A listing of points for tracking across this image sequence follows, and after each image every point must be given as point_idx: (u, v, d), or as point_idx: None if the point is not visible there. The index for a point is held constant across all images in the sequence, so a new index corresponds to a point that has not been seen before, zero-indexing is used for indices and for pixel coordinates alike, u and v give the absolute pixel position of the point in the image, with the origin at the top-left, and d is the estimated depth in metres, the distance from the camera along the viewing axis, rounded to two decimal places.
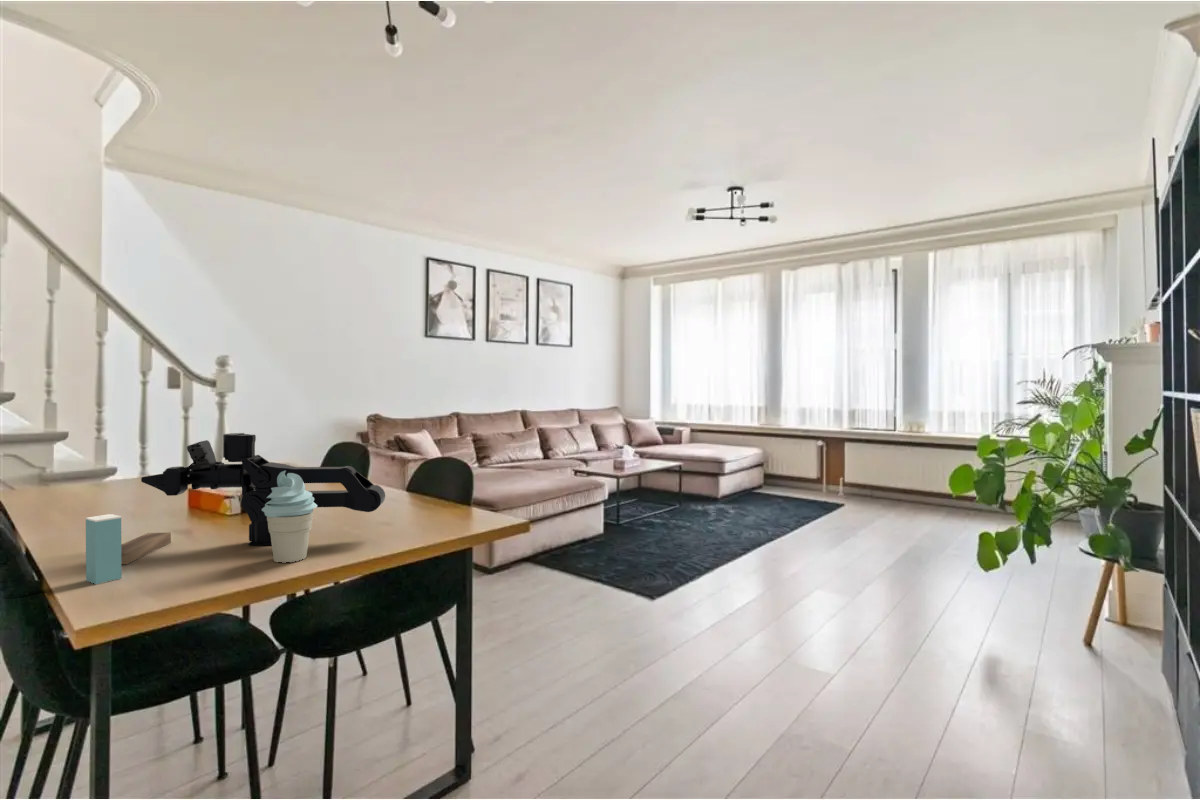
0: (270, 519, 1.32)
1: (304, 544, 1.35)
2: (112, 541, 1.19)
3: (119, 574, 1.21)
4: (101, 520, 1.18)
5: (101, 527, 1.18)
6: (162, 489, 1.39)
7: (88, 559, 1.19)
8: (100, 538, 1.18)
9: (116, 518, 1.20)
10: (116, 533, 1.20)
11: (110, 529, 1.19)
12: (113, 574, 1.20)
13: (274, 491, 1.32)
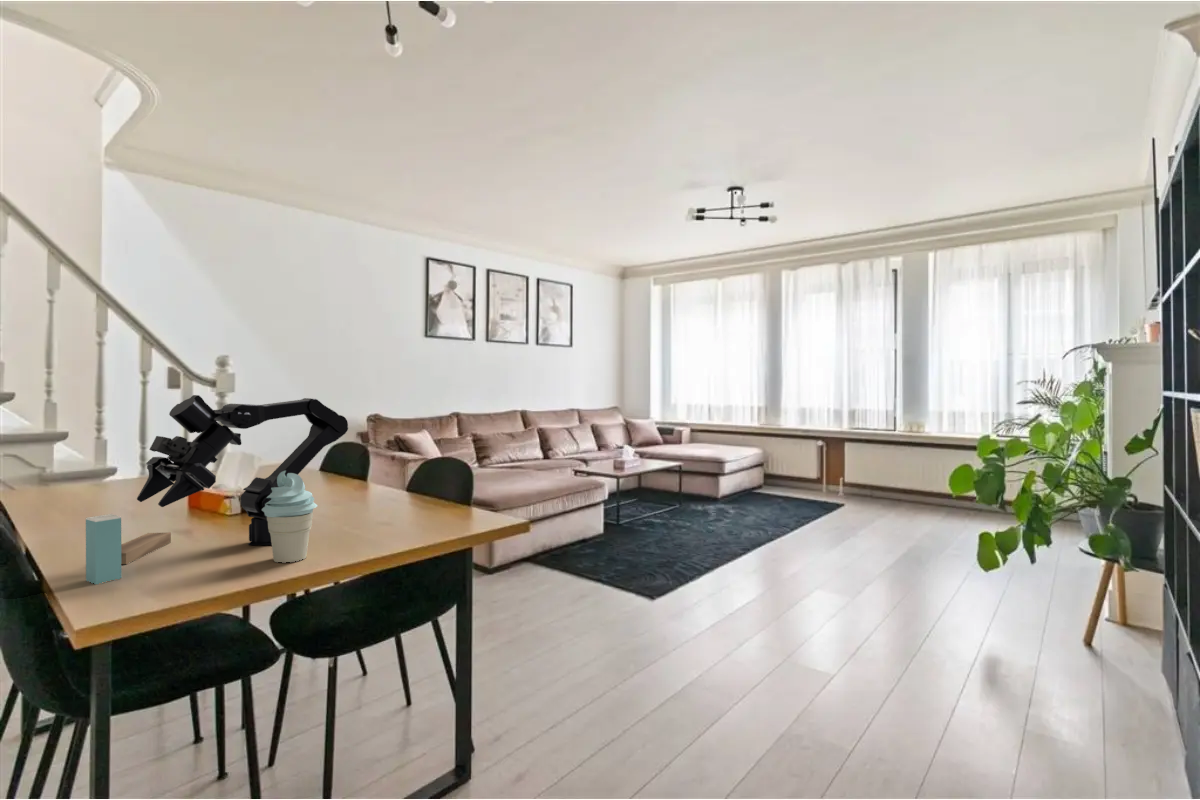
0: (270, 519, 1.32)
1: (304, 544, 1.35)
2: (112, 541, 1.19)
3: (119, 574, 1.21)
4: (101, 520, 1.18)
5: (101, 527, 1.18)
6: (192, 492, 1.28)
7: (88, 559, 1.19)
8: (100, 538, 1.18)
9: (116, 518, 1.20)
10: (116, 533, 1.20)
11: (110, 529, 1.19)
12: (113, 574, 1.20)
13: (274, 491, 1.32)
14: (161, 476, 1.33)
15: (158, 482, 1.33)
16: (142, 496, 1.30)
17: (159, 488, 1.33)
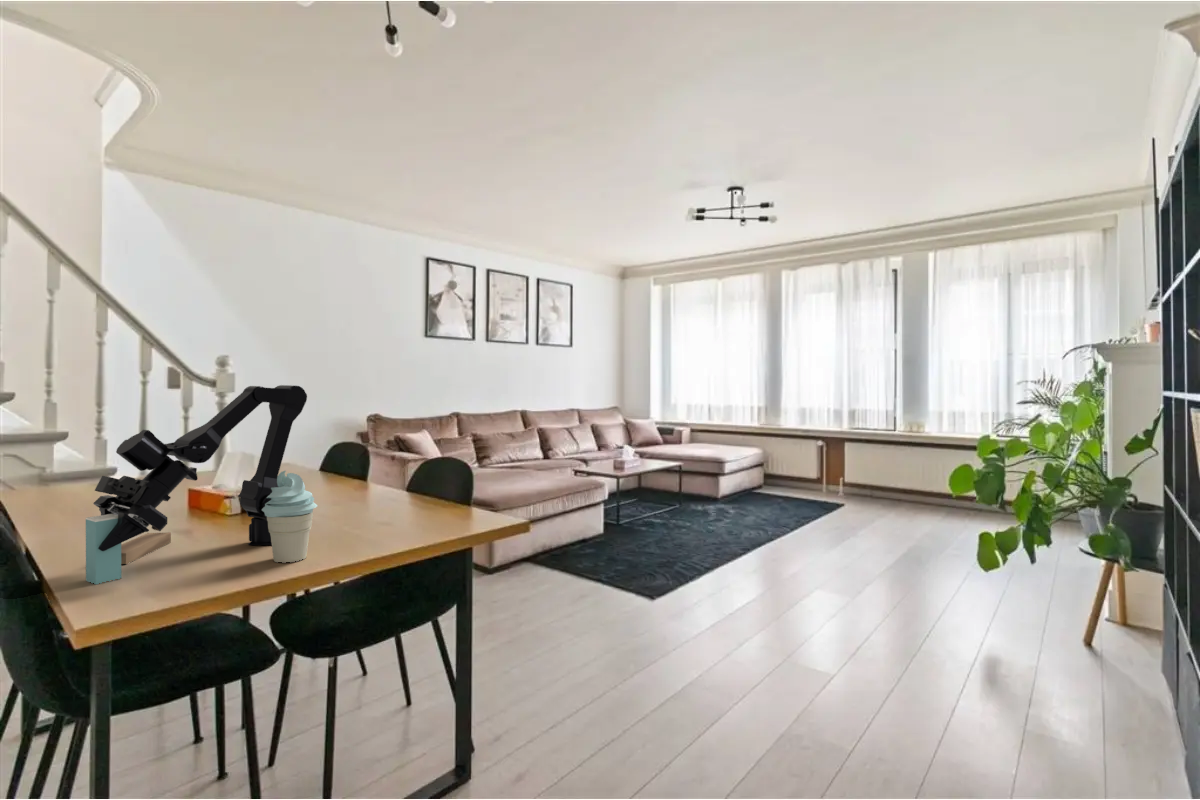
0: (270, 519, 1.32)
1: (304, 544, 1.35)
2: None
3: (119, 574, 1.21)
4: (101, 520, 1.18)
5: (101, 527, 1.18)
6: (135, 534, 1.21)
7: (88, 559, 1.19)
8: (100, 538, 1.18)
9: (116, 518, 1.20)
10: None
11: (110, 529, 1.19)
12: (113, 574, 1.20)
13: (274, 491, 1.32)
14: None
15: None
16: None
17: None
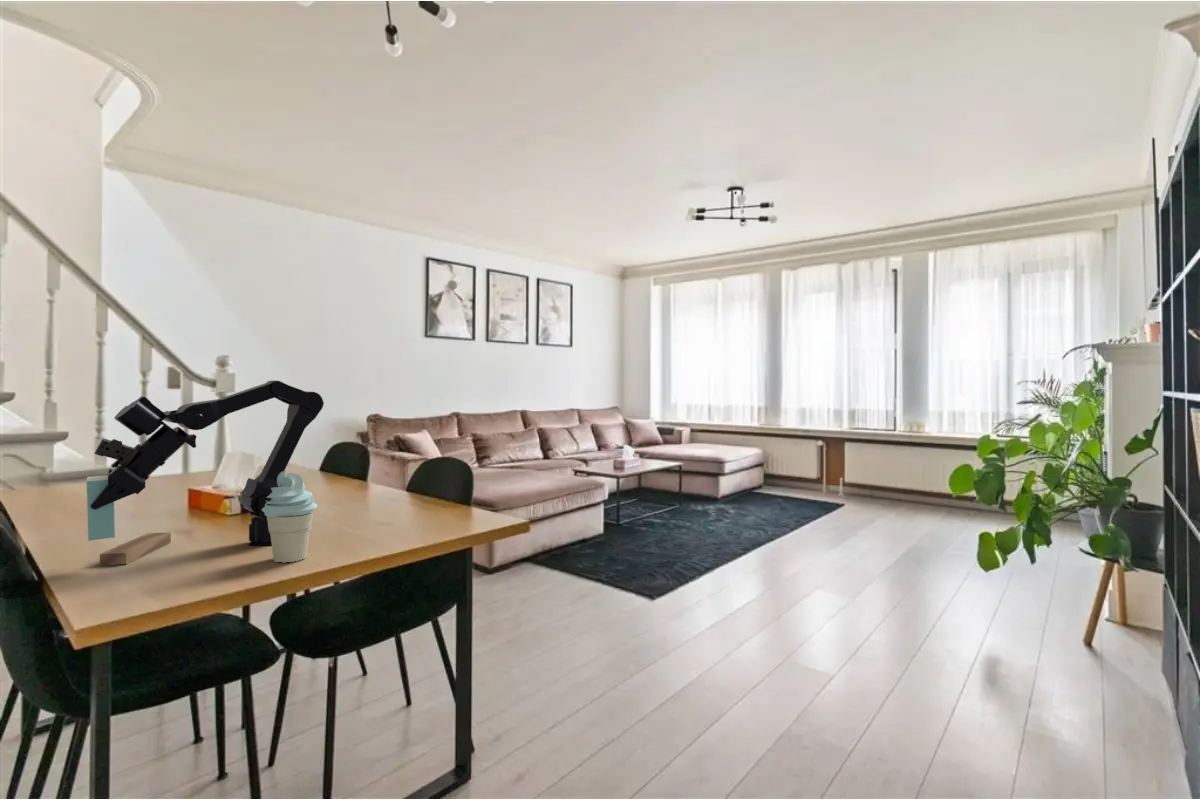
0: (270, 519, 1.32)
1: (304, 544, 1.35)
2: None
3: (112, 533, 1.26)
4: (92, 480, 1.24)
5: (92, 486, 1.24)
6: (124, 495, 1.26)
7: None
8: (92, 497, 1.24)
9: None
10: None
11: (102, 489, 1.25)
12: (105, 532, 1.25)
13: (274, 491, 1.32)
14: None
15: None
16: None
17: None
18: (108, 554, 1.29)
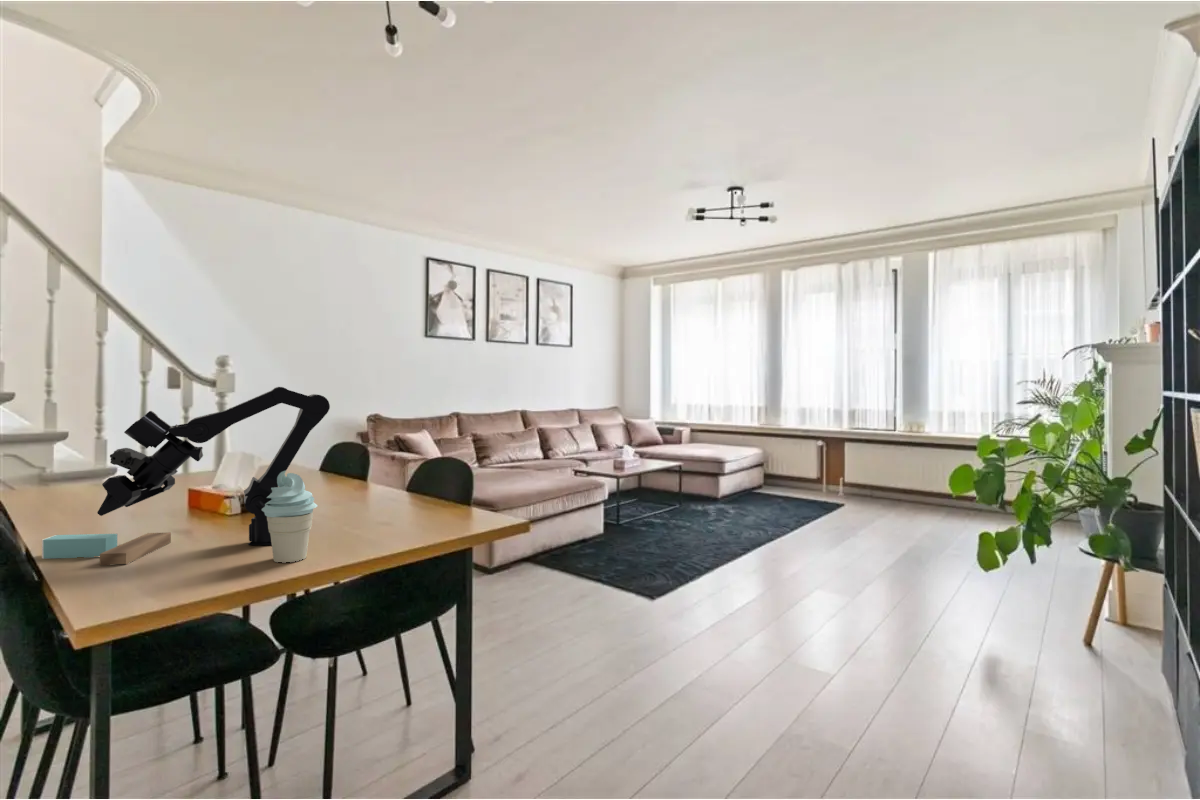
0: (270, 519, 1.32)
1: (304, 544, 1.35)
2: (65, 546, 1.34)
3: (100, 539, 1.35)
4: (42, 554, 1.33)
5: (49, 554, 1.33)
6: (120, 505, 1.31)
7: None
8: (60, 554, 1.34)
9: (43, 543, 1.33)
10: (58, 543, 1.34)
11: (53, 547, 1.33)
12: (99, 544, 1.35)
13: (274, 491, 1.32)
14: None
15: (143, 490, 1.42)
16: None
17: (144, 496, 1.42)
18: (108, 554, 1.29)
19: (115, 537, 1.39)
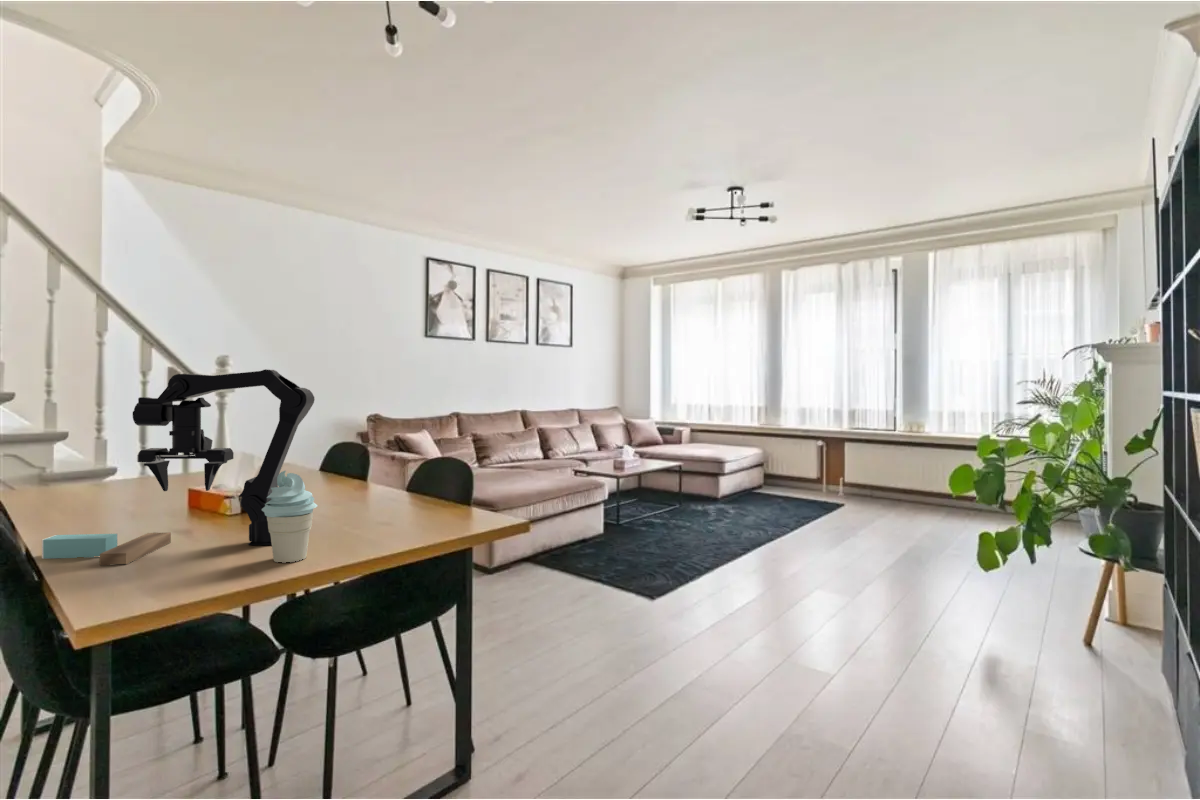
0: (270, 519, 1.32)
1: (304, 544, 1.35)
2: (65, 546, 1.34)
3: (100, 539, 1.35)
4: (42, 554, 1.33)
5: (49, 554, 1.33)
6: None
7: None
8: (60, 554, 1.34)
9: (43, 543, 1.33)
10: (58, 543, 1.34)
11: (53, 547, 1.33)
12: (99, 544, 1.35)
13: (274, 491, 1.32)
14: None
15: None
16: None
17: None
18: (108, 554, 1.29)
19: (115, 537, 1.39)
